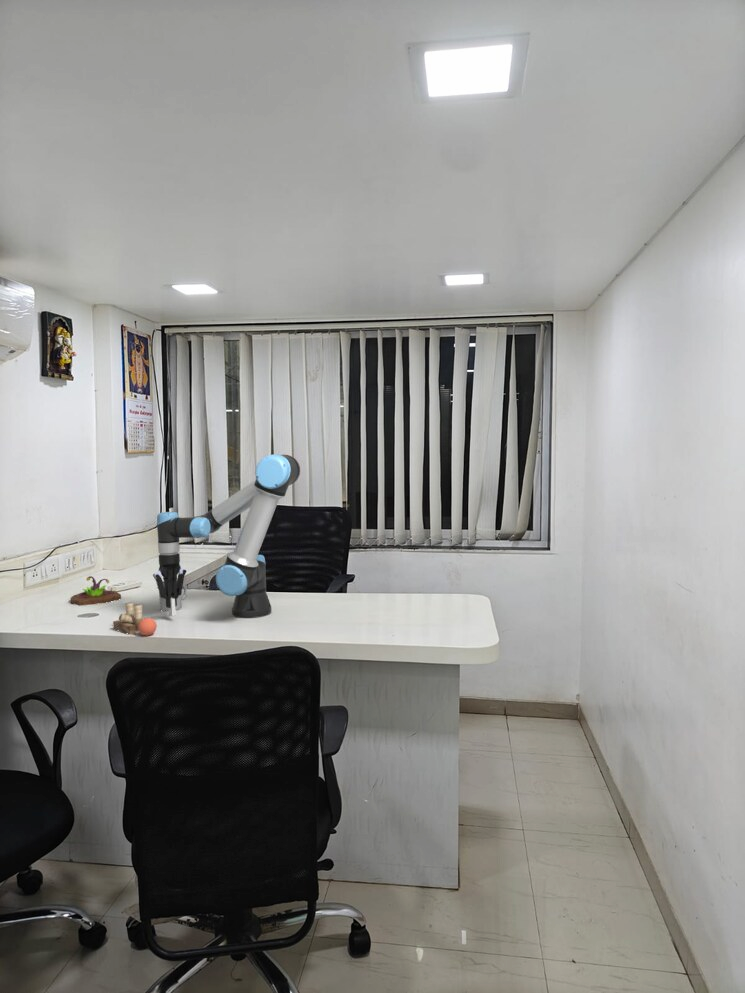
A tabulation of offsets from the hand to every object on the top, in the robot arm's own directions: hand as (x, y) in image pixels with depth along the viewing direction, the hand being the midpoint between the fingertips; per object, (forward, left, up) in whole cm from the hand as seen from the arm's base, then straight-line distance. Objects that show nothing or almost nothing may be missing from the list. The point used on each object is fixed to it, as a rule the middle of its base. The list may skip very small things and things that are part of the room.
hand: (171, 615), depth 246 cm
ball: (-11, +16, +1) cm, 20 cm away
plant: (+62, 0, -3) cm, 62 cm away
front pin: (0, +12, -1) cm, 12 cm away
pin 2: (-3, +15, -2) cm, 16 cm away
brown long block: (0, +19, -2) cm, 19 cm away
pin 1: (+3, +15, -2) cm, 15 cm away
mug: (+18, -12, -2) cm, 22 cm away
